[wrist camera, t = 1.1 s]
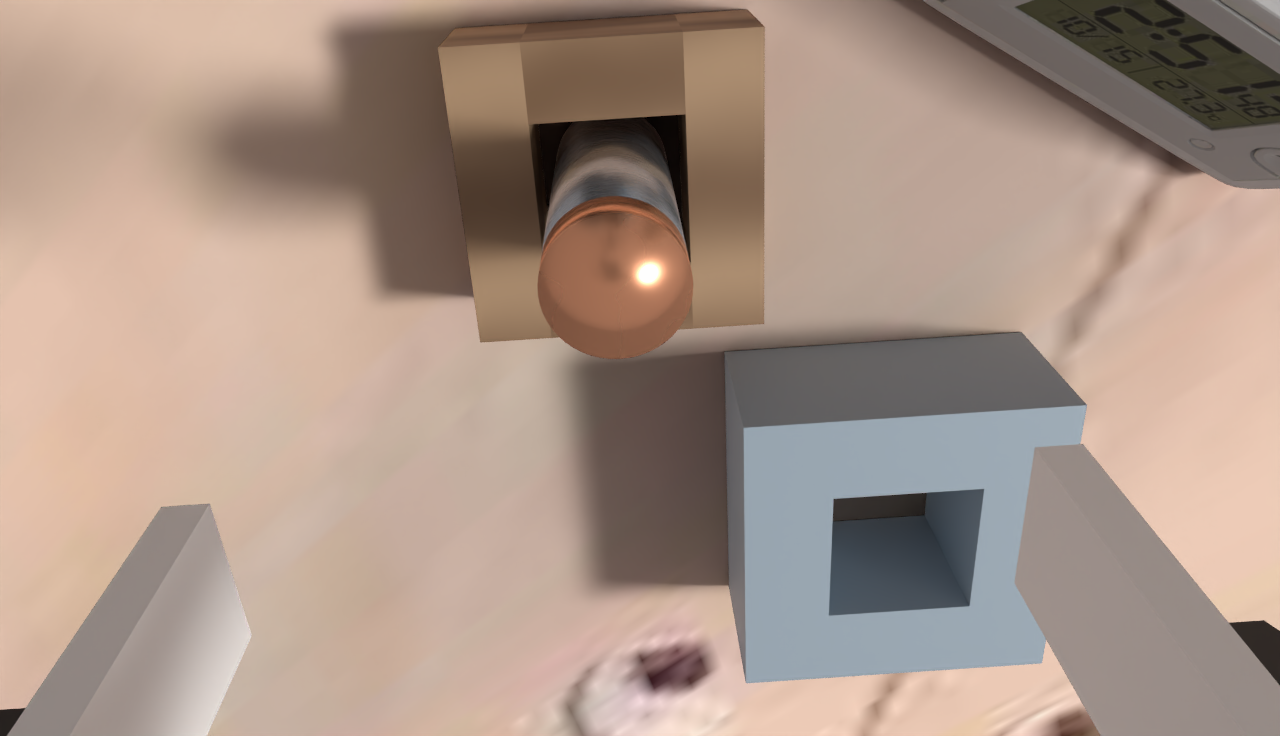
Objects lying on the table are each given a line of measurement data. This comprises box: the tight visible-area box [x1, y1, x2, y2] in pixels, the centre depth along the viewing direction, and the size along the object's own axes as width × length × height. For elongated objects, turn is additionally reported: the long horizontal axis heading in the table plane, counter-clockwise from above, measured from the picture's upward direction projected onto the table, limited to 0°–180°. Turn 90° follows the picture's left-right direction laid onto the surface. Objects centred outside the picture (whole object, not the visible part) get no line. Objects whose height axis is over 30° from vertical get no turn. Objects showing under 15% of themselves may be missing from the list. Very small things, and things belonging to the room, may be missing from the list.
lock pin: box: [537, 117, 693, 359], centre depth 31 cm, size 4×4×12 cm
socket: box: [725, 332, 1087, 683], centre depth 40 cm, size 12×12×6 cm
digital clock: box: [923, 0, 1280, 189], centre depth 29 cm, size 16×9×11 cm, turn 51°
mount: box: [438, 10, 765, 342], centre depth 34 cm, size 10×10×4 cm
